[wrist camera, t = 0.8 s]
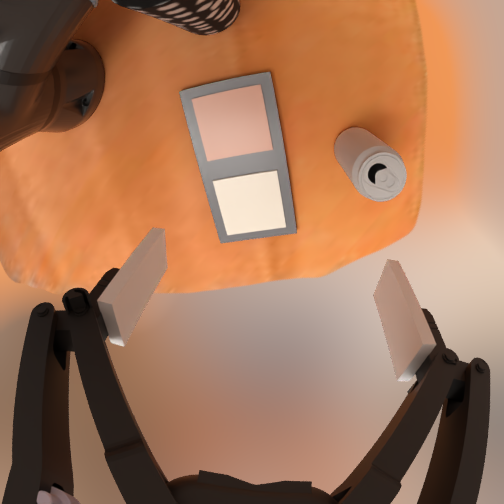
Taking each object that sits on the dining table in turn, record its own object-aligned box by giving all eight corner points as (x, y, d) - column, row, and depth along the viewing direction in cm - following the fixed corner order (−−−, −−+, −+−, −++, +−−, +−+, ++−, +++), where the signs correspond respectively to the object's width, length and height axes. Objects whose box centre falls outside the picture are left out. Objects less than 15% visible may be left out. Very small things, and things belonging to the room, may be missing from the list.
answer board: (181, 90, 35) (178, 91, 33) (270, 71, 33) (270, 71, 32) (221, 239, 48) (220, 244, 47) (296, 229, 46) (297, 234, 45)
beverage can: (348, 117, 36) (377, 137, 26) (383, 142, 37) (420, 171, 27) (324, 153, 39) (343, 185, 29) (359, 176, 40) (386, 215, 31)
